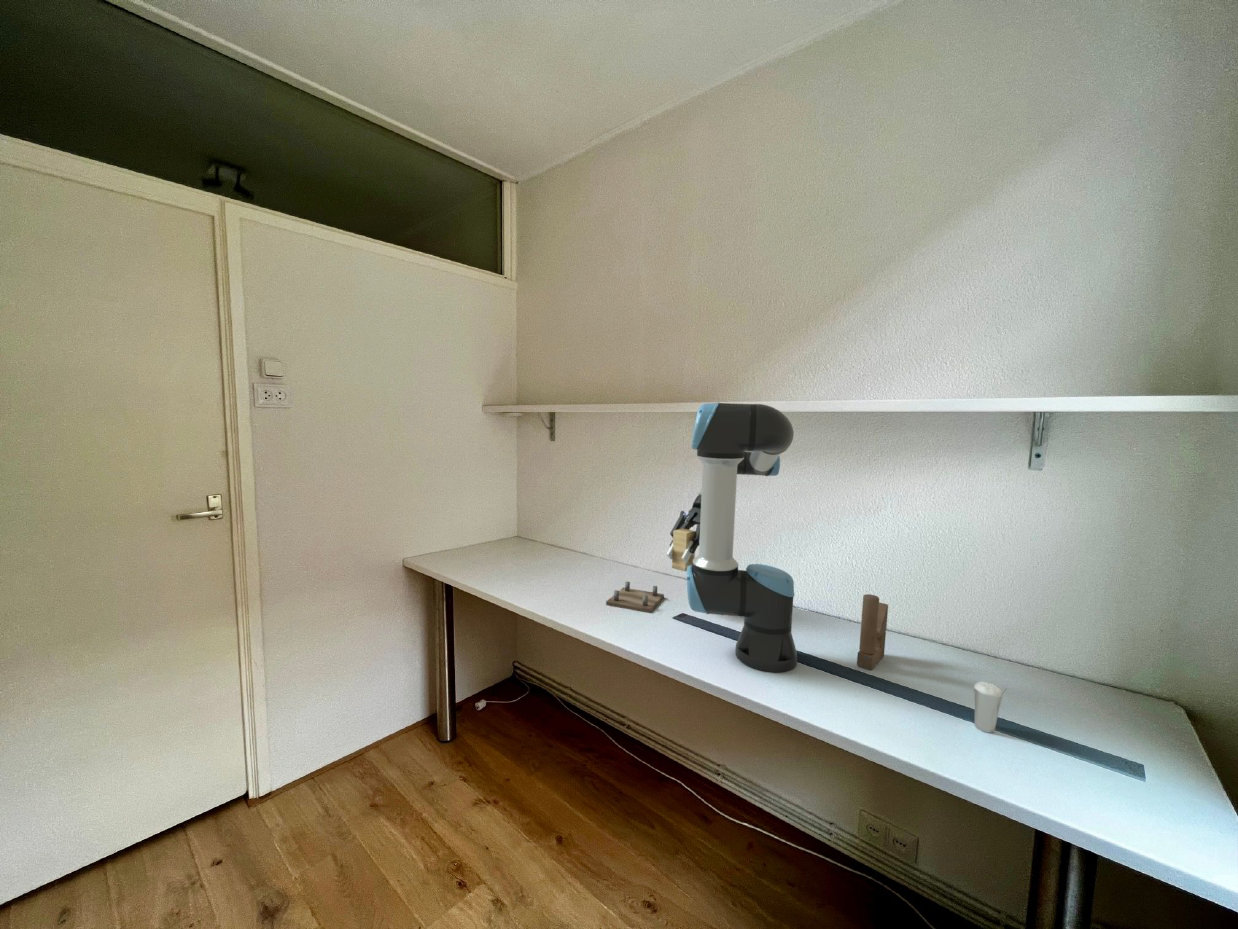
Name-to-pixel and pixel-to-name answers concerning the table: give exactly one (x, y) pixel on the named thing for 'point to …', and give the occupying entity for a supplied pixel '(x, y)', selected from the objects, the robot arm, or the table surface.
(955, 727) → the table surface
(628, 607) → the peg plate
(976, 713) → the milkshake
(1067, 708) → the table surface
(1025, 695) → the table surface
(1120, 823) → the table surface
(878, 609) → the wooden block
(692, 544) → the robot arm
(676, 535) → the oak post
